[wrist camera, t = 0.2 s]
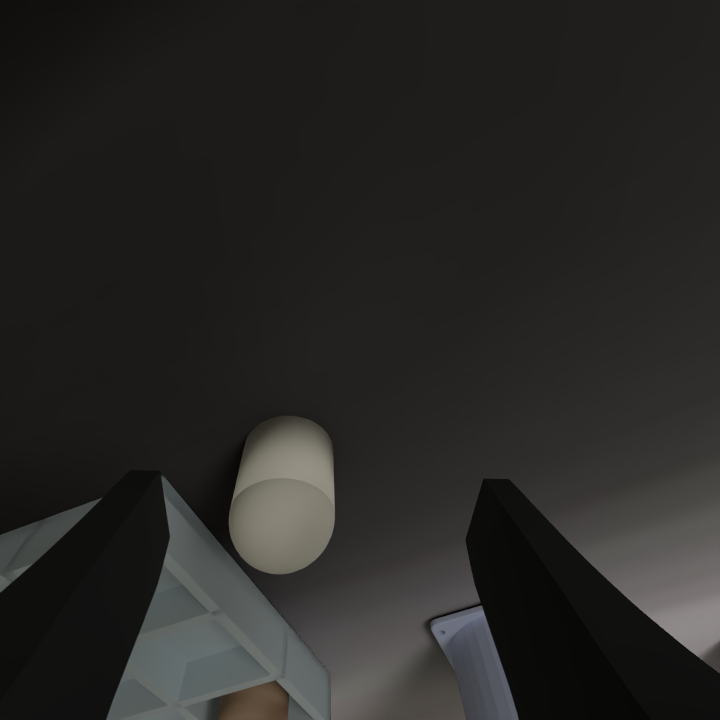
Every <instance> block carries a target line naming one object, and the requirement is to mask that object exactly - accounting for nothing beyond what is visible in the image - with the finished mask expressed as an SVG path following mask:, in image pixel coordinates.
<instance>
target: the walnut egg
mask: <svg viewBox="0 0 720 720" xmlns="http://www.w3.org/2000/svg"><path fill="white" fill-rule="evenodd" d="M288 707H289V693H288V692H287V691H286V690H285V689H284V688H283V687H282V686H281V685H280V684H279V683H278V682H277V681H276V680H274V681H271V682H267V683H264V684H260V685H257V686H253V687H250V688H247V689H243V690H240V691H236V692H233V693H229V694H226V695H223V696H221V701H220V707H219V713H218V718H217V720H288Z"/></svg>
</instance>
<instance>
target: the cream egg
mask: <svg viewBox="0 0 720 720" xmlns="http://www.w3.org/2000/svg"><path fill="white" fill-rule="evenodd" d="M334 520H335V505H334V469H333V445H332V442H331V439H330V437H329V436H328V434H327V433H326V431H325V430H324V429H323V428H322V427H320V426H319V425H318V424H316V423H315V422H313V421H311V420H308V419H305V418H302V417H297V416H279V417H274V418H271V419H268V420H266V421H263V422H262V423H260V424H259V425H257V426H256V427H255V428H254V429H253V430H252V431H251V432H250V434H249V435H248V437H247V439H246V442H245V446H244V450H243V455H242V459H241V463H240V468H239V472H238V477H237V481H236V485H235V490H234V494H233V499H232V503H231V508H230V514H229V531H230V536H231V539H232V542H233V544H234V546H235V549H236V550H237V552H238V553H239V554H240V556H241V557H242V558H243V559H244V560H245V561H246V562H247V563H248V564H249V565H251V566H252V567H254V568H256V569H258V570H260V571H263V572H266V573H271V574H287V573H292V572H295V571H298V570H300V569H302V568H305V567H306V566H308V565H309V564H311V563H312V562H313V561H314V560H316V559H317V558H318V556H319V555H320V554H321V553H322V552H323V551H324V549H325V547H326V546H327V544H328V542H329V540H330V538H331V535H332V532H333V528H334Z"/></svg>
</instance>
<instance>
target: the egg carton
mask: <svg viewBox="0 0 720 720" xmlns="http://www.w3.org/2000/svg"><path fill="white" fill-rule="evenodd" d="M161 479H162V485H163V492H164V499H165V505H166V512H167V519H168V525H169V532H170V540H169V544H168V548H167V552H166V556H165V560H164V564H163V567H162V571H161V574H160V578H159V582H158V585H157V588H156V590H155V593H154V596H153V598H152V601H151V604H150V606H149V609H148V611H147V614H146V617H145V619H144V622H143V625H142V627H141V630H140V632H139V635H138V637H137V640H136V642H135V645H134V648H133V650H132V653H131V655H130V658H129V660H128V663H127V666H126V668H125V671H124V673H123V676H122V678H121V681H120V684H119V686H118V689H117V691H116V694H115V696H114V699H113V702H112V705H111V708H110V711H109V713H108V716H107V719H106V720H217V718H218V713H219V707H220V701H221V696H223V695H226V694H229V693H233V692H236V691H240V690H243V689H247V688H250V687H253V686H257V685H260V684H264V683H267V682H271V681H274V680H276V681H277V682H278V683H279V684H280V685H281V686H282V687H283V688H284V689H285V690H286V691H287V692H288V693H289V707H288V720H331V688H330V674H329V673H328V671H327V670H326V669H325V668H324V667H323V665H322V664H321V663H320V662H319V661H318V660H317V658H316V657H315V656H314V655H313V654H312V652H311V651H310V650H309V649H308V648H307V646H306V645H305V644H304V643H303V642H302V640H301V639H300V638H299V637H298V636H297V635H296V633H295V632H294V631H293V630H292V629H291V627H290V626H289V625H288V624H287V623H286V621H285V620H284V619H283V618H282V617H281V615H280V614H279V613H278V612H277V611H276V610H275V608H274V607H273V606H272V605H271V604H270V602H269V601H268V600H267V599H266V598H265V596H264V595H263V594H262V593H261V592H260V590H259V589H258V588H257V587H256V586H255V585H254V583H253V582H252V581H251V580H250V579H249V577H248V576H247V575H246V574H245V573H244V571H243V570H242V569H241V568H240V567H239V565H238V564H237V563H236V562H235V561H234V560H233V558H232V557H231V556H230V555H229V554H228V552H227V551H226V550H225V549H224V548H223V546H222V545H221V544H220V543H219V542H218V541H217V539H216V538H215V537H214V536H213V535H212V533H211V532H210V531H209V530H208V529H207V527H206V526H205V525H204V524H203V523H202V521H201V520H200V519H199V518H198V517H197V516H196V514H195V513H194V512H193V511H192V510H191V508H190V507H189V506H188V505H187V504H186V502H185V501H184V500H183V499H182V498H181V496H180V495H179V494H178V493H177V492H176V491H175V489H174V488H173V487H172V486H171V485H170V483H169V482H168V481H167V480H166V479H165V477H164V476H161ZM101 499H102V498H100V499H98V500H95V501H92V502H89V503H87V504H84V505H81V506H78V507H76V508H73V509H70V510H67V511H65V512H62V513H59V514H56V515H54V516H51V517H48V518H45V519H43V520H40V521H37V522H34V523H32V524H29V525H26V526H23V527H21V528H18V529H15V530H12V531H10V532H7V533H4V534H1V535H0V592H1V591H3V590H4V589H5V588H6V587H7V586H8V585H9V584H11V583H12V582H13V581H14V580H15V579H16V578H17V577H19V576H20V575H21V574H22V573H23V572H24V571H25V570H27V569H28V568H29V567H30V566H31V565H32V564H33V563H35V562H36V561H37V560H38V559H39V558H40V557H41V556H42V555H43V554H45V553H46V552H47V551H48V550H49V549H50V548H51V547H52V546H53V545H54V544H55V543H56V542H57V541H58V540H59V539H61V538H62V537H63V536H64V535H65V534H66V533H67V532H68V531H69V530H70V529H71V528H72V527H73V526H74V525H75V524H76V523H77V522H78V521H79V520H81V519H82V518H83V517H84V516H85V515H86V514H87V513H88V512H89V511H90V510H91V509H92V508H93V507H94V506H95V505H96V504H97V503H98V502H99V501H100V500H101Z"/></svg>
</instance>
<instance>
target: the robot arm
mask: <svg viewBox="0 0 720 720" xmlns="http://www.w3.org/2000/svg"><path fill="white" fill-rule="evenodd" d="M169 540H170V532H169V525H168V519H167V512H166V505H165V499H164V492H163V485H162V479H161V472H160V471H139V470H131V471H130V472H128V473H127V474H126V475H125V476H124V477H123V478H122V479H121V480H120V481H119V482H118V483H117V484H116V485H115V486H114V487H113V488H112V489H111V490H110V491H109V492H108V493H107V494H106V495H105V496H104V497H103V498H102V499H101V500H100V501H99V502H98V503H97V504H96V505H95V506H94V507H93V508H92V509H91V510H90V511H89V512H88V513H87V514H86V515H85V516H84V517H83V518H82V519H81V520H79V521H78V522H77V523H76V524H75V525H74V526H73V527H72V528H71V529H70V530H69V531H68V532H67V533H66V534H65V535H64V536H63V537H62V538H61V539H59V540H58V541H57V542H56V543H55V544H54V545H53V546H52V547H51V548H50V549H49V550H48V551H47V552H46V553H45V554H43V555H42V556H41V557H40V558H39V559H38V560H37V561H36V562H35V563H33V564H32V565H31V566H30V567H29V568H28V569H27V570H25V571H24V572H23V573H22V574H21V575H20V576H19V577H17V578H16V579H15V580H14V581H13V582H12V583H11V584H9V585H8V586H7V587H6V588H5V589H4V590H3V591H1V592H0V720H106V719H107V716H108V713H109V711H110V708H111V705H112V702H113V699H114V696H115V694H116V691H117V689H118V686H119V684H120V681H121V678H122V676H123V673H124V671H125V668H126V666H127V663H128V660H129V658H130V655H131V653H132V650H133V648H134V645H135V642H136V640H137V637H138V635H139V632H140V630H141V627H142V625H143V622H144V619H145V617H146V614H147V611H148V609H149V606H150V604H151V601H152V598H153V596H154V593H155V590H156V588H157V585H158V582H159V578H160V574H161V571H162V567H163V564H164V560H165V556H166V552H167V548H168V544H169ZM466 545H467V550H468V555H469V560H470V565H471V569H472V574H473V578H474V583H475V586H476V589H477V593H478V596H479V599H480V602H481V606H477V607H474V608H471V609H467V610H464V611H460V612H457V613H454V614H450V615H447V616H444V617H440V618H437V619H434V620H432V621H431V623H430V627H431V631H432V632H433V634H434V636H435V638H436V640H437V641H438V643H439V645H440V647H441V649H442V650H443V652H444V654H445V656H446V657H447V659H448V661H449V663H450V665H451V666H452V668H453V670H454V672H455V673H456V677H457V681H458V686H459V690H460V694H461V699H462V703H463V707H464V712H465V716H466V720H720V673H718V672H717V671H715V670H714V669H713V668H711V667H710V666H709V665H707V664H706V663H705V662H703V661H702V660H701V659H700V658H698V657H697V656H696V655H695V654H693V653H692V652H691V651H689V650H688V649H687V648H686V647H684V646H683V645H682V644H681V643H679V642H678V641H677V640H676V639H675V638H673V637H672V636H671V635H670V634H669V633H667V632H666V631H665V630H664V629H662V628H661V627H660V626H659V625H658V624H656V623H655V622H654V621H653V620H652V619H650V618H649V617H648V616H647V615H646V614H645V613H643V612H642V611H641V610H640V609H639V608H638V607H637V606H635V605H634V604H633V603H632V602H631V601H630V600H629V599H628V598H626V597H625V596H624V595H623V594H622V593H621V592H620V591H619V590H618V589H617V588H616V587H615V586H613V585H612V584H611V583H610V582H609V581H608V580H607V579H606V578H605V577H604V576H603V575H602V574H601V573H600V572H598V571H597V570H596V569H595V568H594V567H593V566H592V565H591V564H590V563H589V562H588V561H587V560H586V559H585V558H584V557H583V556H582V555H581V554H580V553H579V552H578V551H577V550H576V549H575V548H574V547H573V546H572V545H571V544H570V543H569V542H568V541H567V540H566V539H565V538H564V537H563V536H562V535H561V534H560V533H559V531H558V530H557V529H556V528H555V527H554V526H553V525H552V524H551V523H550V522H549V521H548V520H547V519H546V518H545V517H544V516H543V515H542V514H541V513H540V511H539V510H538V509H537V508H536V507H535V506H534V505H533V504H532V503H531V502H530V501H529V500H528V499H527V498H526V497H525V495H524V494H523V493H522V492H521V491H520V490H519V489H518V488H517V487H516V486H515V485H514V484H513V483H512V482H511V481H510V480H509V479H483V482H482V486H481V489H480V493H479V496H478V499H477V503H476V506H475V509H474V513H473V516H472V519H471V523H470V526H469V530H468V533H467V536H466Z"/></svg>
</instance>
